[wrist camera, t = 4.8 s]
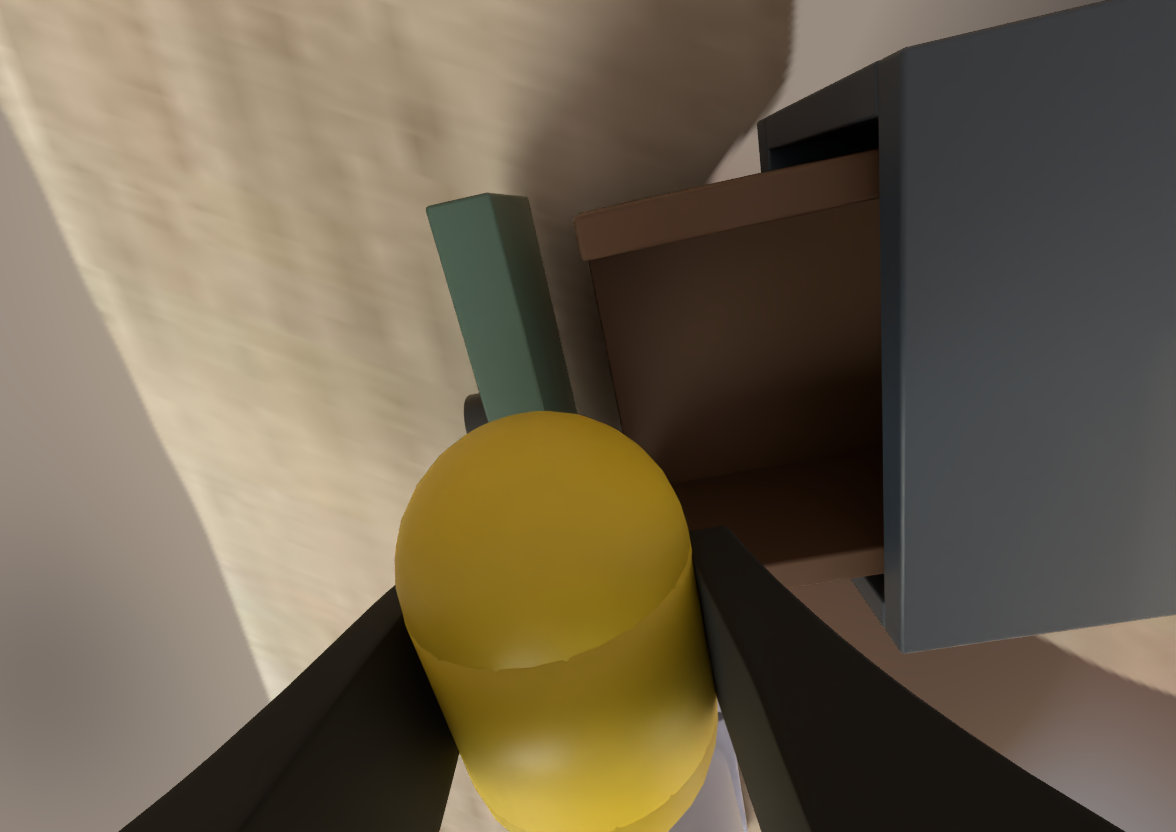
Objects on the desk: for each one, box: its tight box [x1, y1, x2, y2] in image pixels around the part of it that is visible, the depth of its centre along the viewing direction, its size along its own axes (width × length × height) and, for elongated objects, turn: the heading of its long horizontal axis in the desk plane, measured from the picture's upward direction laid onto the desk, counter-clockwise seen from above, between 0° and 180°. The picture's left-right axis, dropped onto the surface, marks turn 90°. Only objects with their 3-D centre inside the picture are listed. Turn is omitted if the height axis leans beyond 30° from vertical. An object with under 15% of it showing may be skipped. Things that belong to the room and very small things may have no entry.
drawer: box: [426, 147, 884, 589], centre depth 14 cm, size 13×10×6 cm
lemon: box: [395, 411, 718, 832], centre depth 8 cm, size 7×4×4 cm, turn 12°
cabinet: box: [757, 0, 1176, 654], centre depth 13 cm, size 13×12×8 cm
